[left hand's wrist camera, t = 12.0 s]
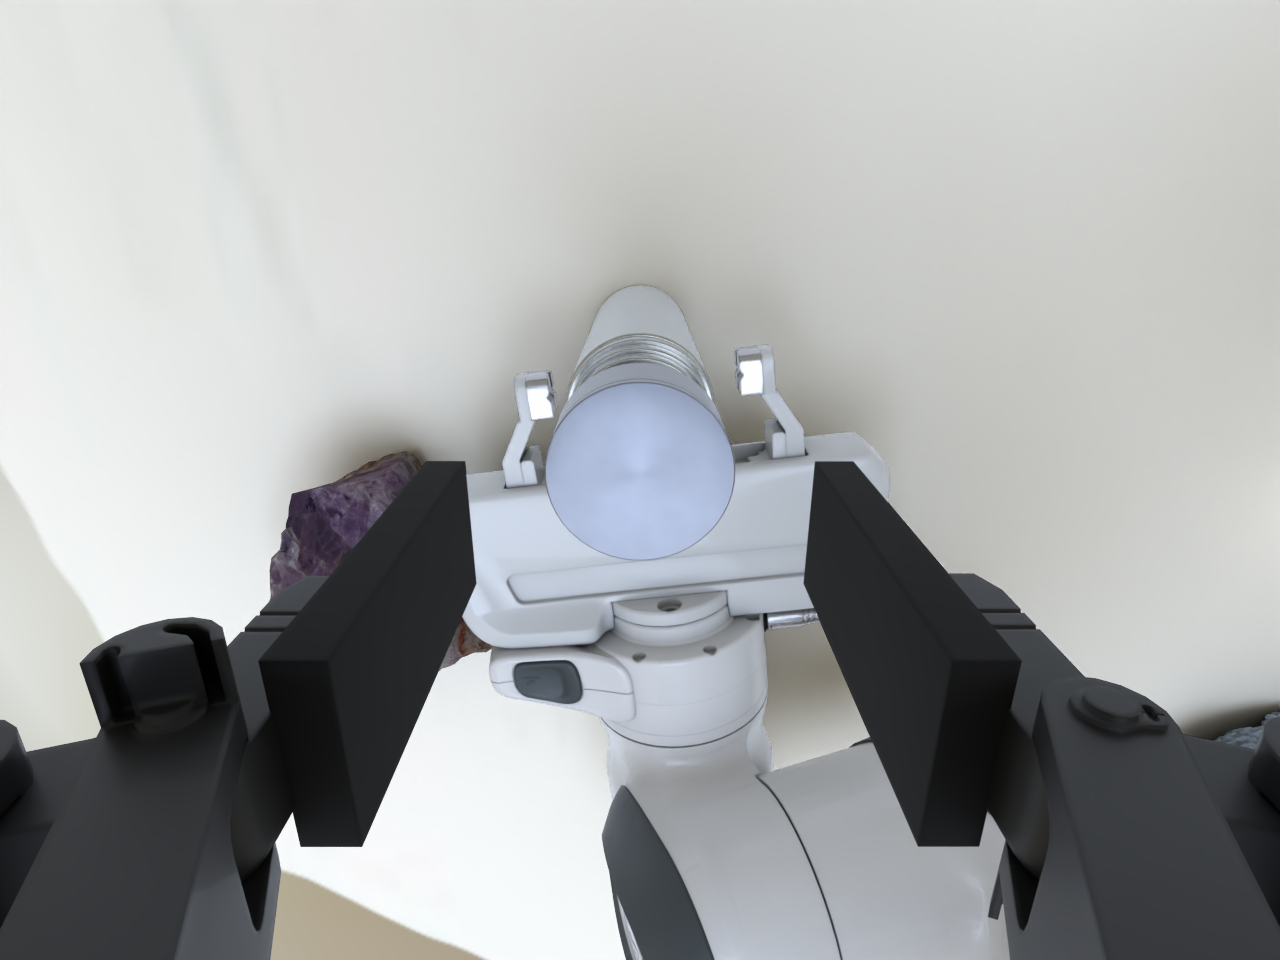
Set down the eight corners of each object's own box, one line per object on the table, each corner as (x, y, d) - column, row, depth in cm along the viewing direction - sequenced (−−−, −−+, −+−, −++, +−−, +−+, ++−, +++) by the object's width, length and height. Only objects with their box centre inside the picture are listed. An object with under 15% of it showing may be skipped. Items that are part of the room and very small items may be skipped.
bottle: (701, 354, 37) (767, 510, 18) (619, 393, 37) (597, 584, 18) (662, 268, 35) (688, 339, 16) (577, 311, 36) (506, 426, 17)
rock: (450, 430, 39) (289, 491, 40) (392, 457, 31) (190, 533, 32) (530, 617, 41) (375, 670, 42) (496, 690, 33) (304, 754, 34)
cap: (751, 482, 19) (765, 516, 17) (603, 549, 20) (598, 588, 18) (681, 331, 18) (686, 347, 16) (523, 408, 19) (509, 434, 16)
